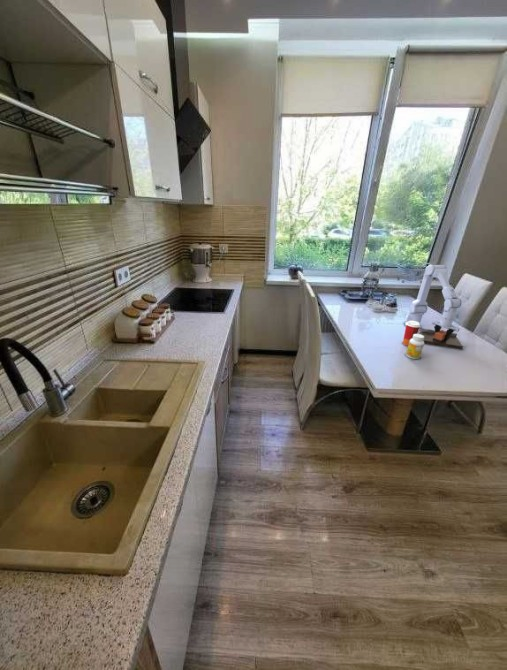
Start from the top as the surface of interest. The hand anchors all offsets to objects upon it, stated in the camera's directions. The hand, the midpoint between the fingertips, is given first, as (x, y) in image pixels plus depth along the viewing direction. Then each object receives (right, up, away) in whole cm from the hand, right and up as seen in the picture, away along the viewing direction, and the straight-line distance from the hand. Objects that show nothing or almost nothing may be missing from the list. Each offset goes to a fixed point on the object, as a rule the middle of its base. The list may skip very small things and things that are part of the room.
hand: (441, 338), depth 169 cm
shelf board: (+1, -2, +2) cm, 3 cm away
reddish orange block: (0, 0, 0) cm, 0 cm away
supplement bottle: (-27, -10, -16) cm, 33 cm away
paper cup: (-22, -4, -2) cm, 22 cm away
